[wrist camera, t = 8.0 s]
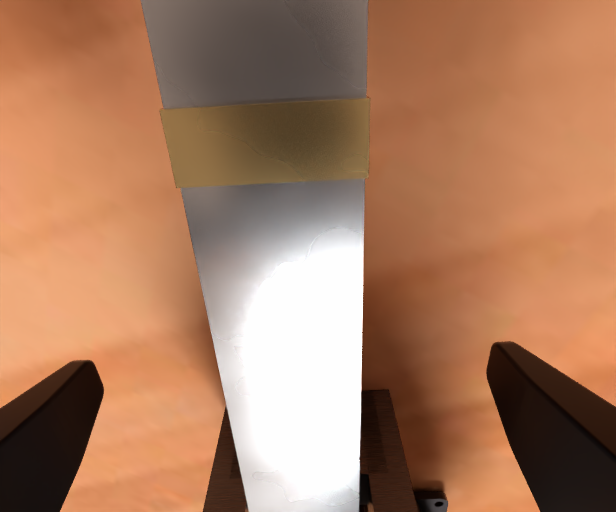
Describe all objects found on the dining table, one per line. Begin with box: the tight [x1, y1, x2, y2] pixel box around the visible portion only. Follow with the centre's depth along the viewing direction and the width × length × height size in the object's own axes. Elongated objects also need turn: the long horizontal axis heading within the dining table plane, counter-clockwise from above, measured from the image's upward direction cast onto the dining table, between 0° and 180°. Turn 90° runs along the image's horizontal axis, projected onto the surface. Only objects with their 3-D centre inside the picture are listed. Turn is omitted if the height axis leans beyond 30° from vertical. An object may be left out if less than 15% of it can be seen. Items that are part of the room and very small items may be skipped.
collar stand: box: [203, 390, 418, 512], centre depth 12 cm, size 20×8×7 cm, turn 3°
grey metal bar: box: [141, 0, 370, 512], centre depth 10 cm, size 22×3×3 cm, turn 3°
